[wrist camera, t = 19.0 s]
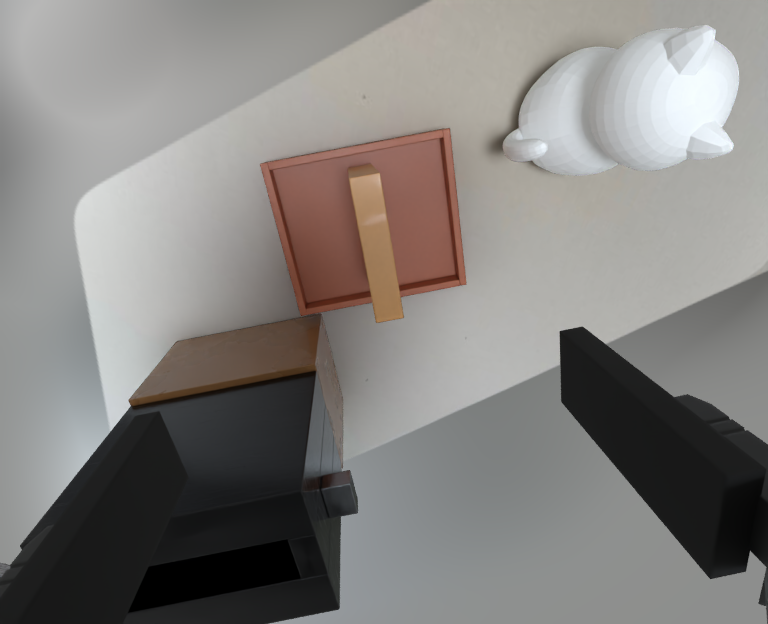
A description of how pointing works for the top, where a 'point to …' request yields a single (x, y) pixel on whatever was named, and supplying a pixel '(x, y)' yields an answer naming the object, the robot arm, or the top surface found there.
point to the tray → (339, 225)
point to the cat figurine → (630, 105)
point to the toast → (375, 241)
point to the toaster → (244, 478)
